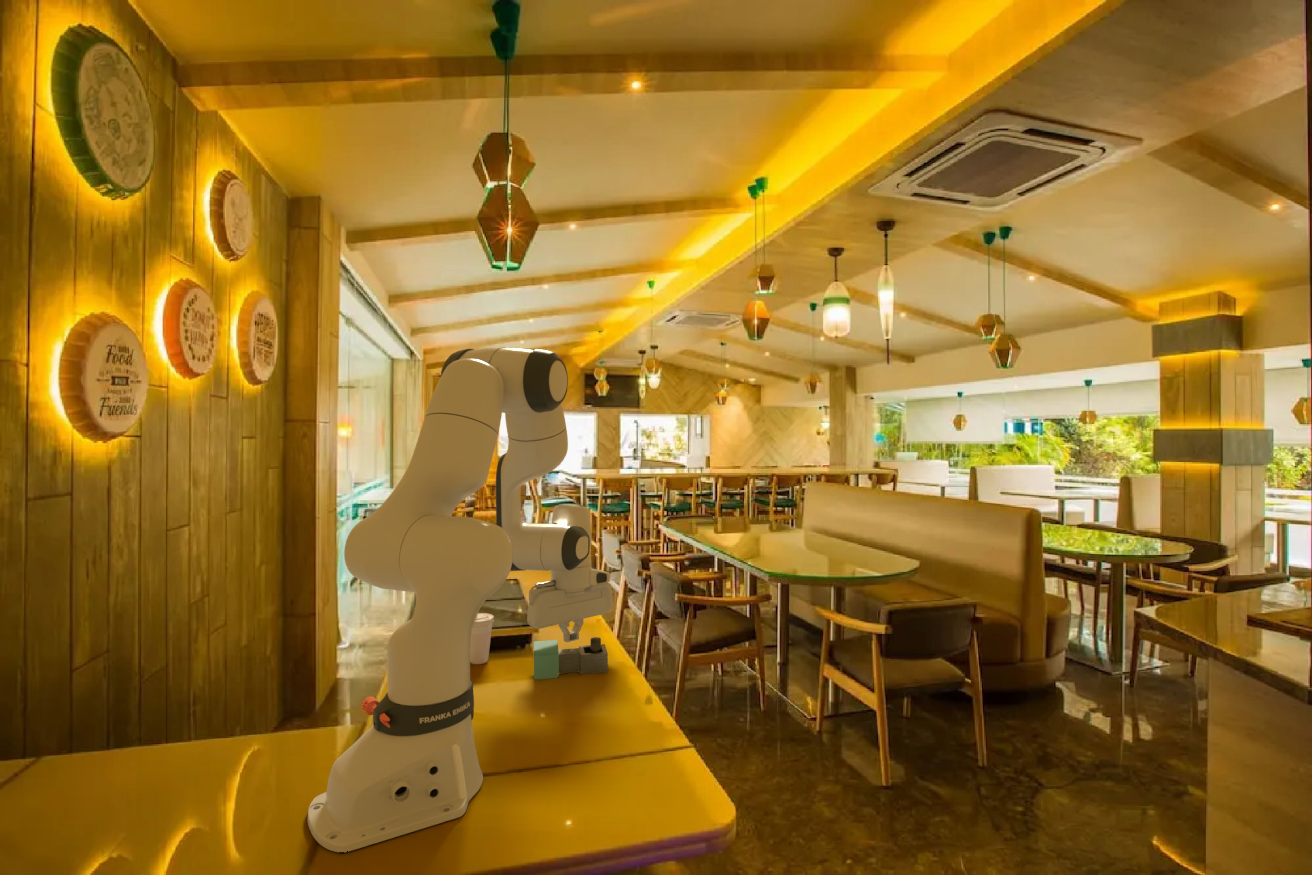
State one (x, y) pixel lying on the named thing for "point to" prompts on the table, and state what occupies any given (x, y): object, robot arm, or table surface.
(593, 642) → the pintle
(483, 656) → the smoothie
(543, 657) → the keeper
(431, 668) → the robot arm
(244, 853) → the table surface
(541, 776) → the table surface
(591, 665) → the link
